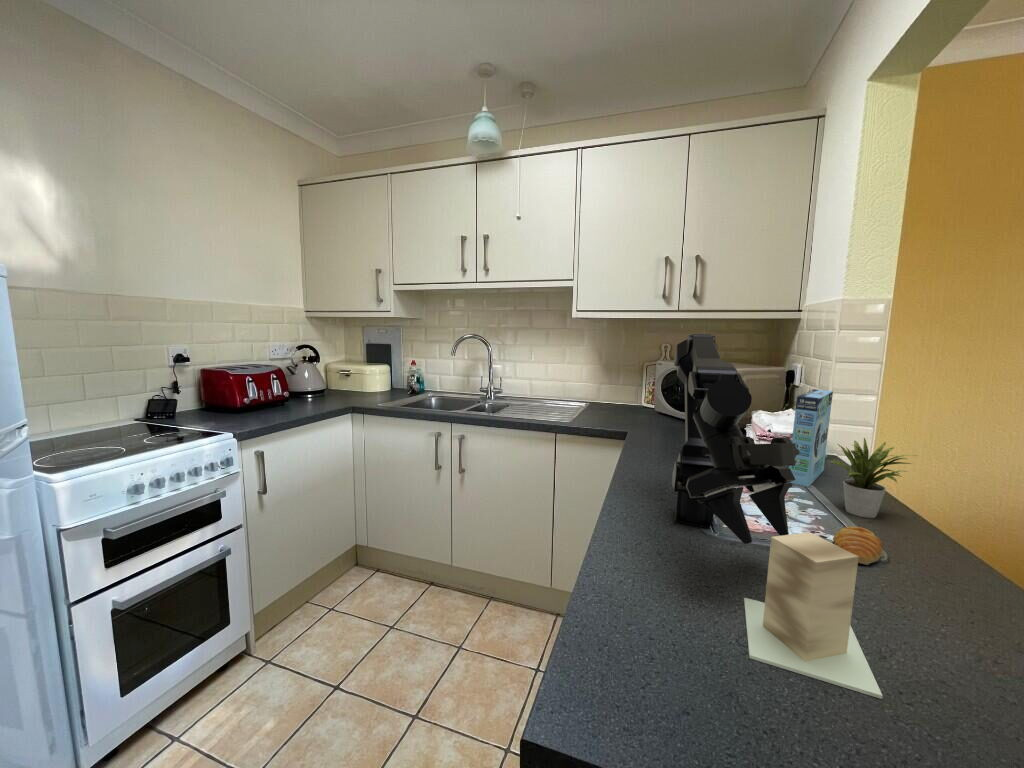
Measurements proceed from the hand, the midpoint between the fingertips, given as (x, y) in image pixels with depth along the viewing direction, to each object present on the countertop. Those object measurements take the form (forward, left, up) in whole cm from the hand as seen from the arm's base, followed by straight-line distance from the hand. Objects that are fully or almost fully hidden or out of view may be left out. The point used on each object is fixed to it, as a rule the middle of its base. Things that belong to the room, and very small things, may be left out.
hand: (767, 539), depth 60 cm
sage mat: (+4, -9, -8) cm, 13 cm away
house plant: (+22, +42, -9) cm, 48 cm away
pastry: (+16, +22, -9) cm, 29 cm away
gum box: (+16, +66, -9) cm, 69 cm away
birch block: (+4, -9, -8) cm, 12 cm away
